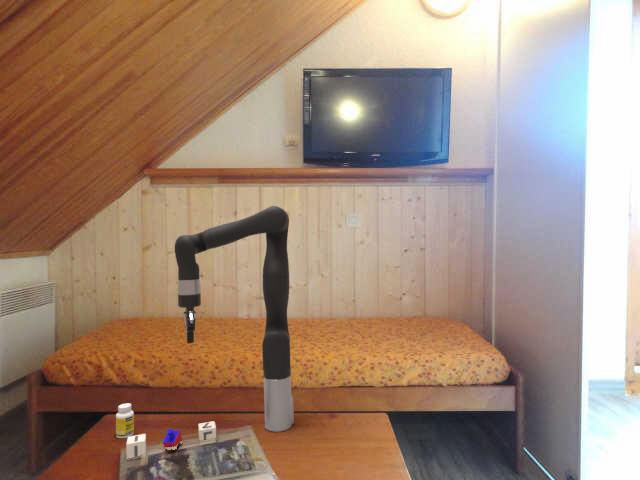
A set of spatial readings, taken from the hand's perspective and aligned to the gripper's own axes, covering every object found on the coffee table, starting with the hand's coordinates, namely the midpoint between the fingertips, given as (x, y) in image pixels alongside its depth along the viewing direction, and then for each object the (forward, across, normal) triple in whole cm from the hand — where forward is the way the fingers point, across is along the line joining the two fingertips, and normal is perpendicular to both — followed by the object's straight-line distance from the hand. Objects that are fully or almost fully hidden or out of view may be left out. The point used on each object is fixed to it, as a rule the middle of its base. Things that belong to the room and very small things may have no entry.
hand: (190, 342), depth 139 cm
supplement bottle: (+29, +4, +21) cm, 36 cm away
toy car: (+29, -13, +7) cm, 33 cm away
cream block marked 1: (+29, -12, +17) cm, 36 cm away
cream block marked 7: (+29, -13, -4) cm, 32 cm away
